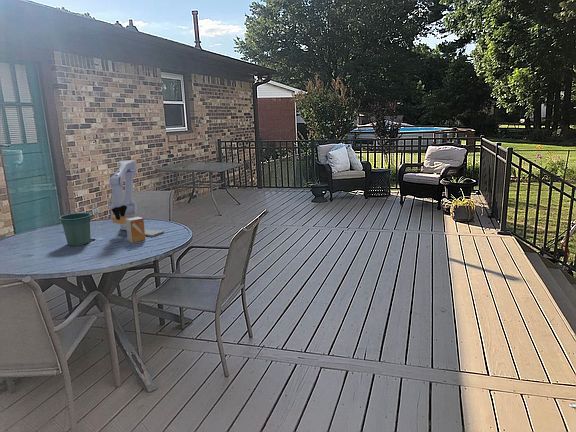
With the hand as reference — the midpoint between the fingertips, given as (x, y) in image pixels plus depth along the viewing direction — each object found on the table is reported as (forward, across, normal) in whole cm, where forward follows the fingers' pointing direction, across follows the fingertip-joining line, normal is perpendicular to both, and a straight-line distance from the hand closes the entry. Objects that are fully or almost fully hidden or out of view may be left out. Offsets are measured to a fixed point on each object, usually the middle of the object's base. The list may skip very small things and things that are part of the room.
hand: (120, 218), depth 264 cm
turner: (+3, 0, -3) cm, 4 cm away
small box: (+11, -5, -16) cm, 20 cm away
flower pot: (+11, -21, +12) cm, 26 cm away
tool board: (+10, +9, -10) cm, 17 cm away
